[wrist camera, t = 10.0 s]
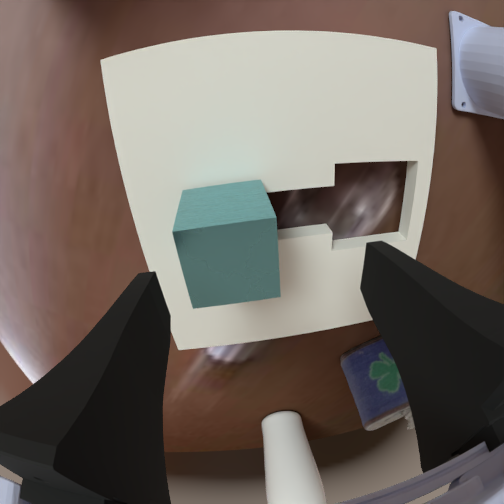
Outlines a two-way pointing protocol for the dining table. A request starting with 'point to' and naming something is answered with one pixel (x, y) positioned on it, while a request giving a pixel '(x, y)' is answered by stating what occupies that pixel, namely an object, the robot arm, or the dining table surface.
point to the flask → (376, 384)
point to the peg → (227, 244)
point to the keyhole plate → (270, 157)
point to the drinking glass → (289, 462)
